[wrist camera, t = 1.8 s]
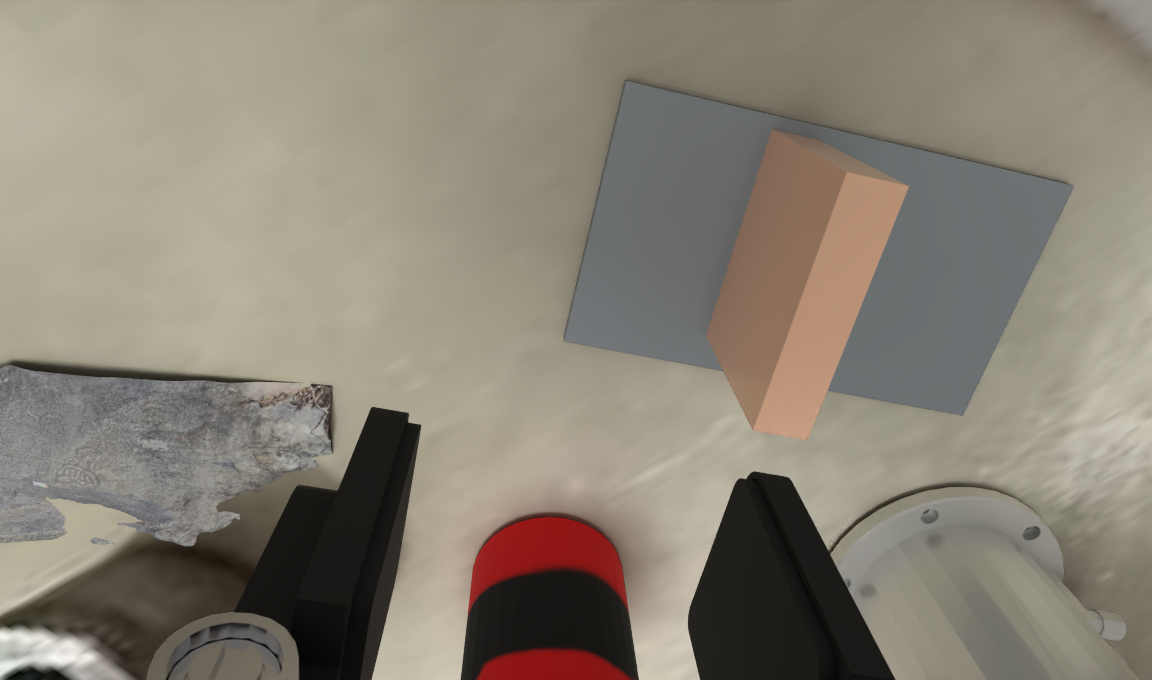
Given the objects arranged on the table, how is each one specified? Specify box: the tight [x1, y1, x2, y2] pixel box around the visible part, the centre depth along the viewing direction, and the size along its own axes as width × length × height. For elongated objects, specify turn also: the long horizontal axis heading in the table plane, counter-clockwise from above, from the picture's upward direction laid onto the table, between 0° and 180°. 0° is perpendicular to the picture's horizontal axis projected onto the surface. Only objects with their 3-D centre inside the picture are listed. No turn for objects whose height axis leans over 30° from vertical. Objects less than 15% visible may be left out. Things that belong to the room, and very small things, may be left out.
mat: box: [564, 80, 1074, 416], centre depth 33 cm, size 19×11×1 cm, turn 77°
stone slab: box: [0, 365, 333, 546], centre depth 35 cm, size 18×2×10 cm
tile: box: [706, 129, 909, 440], centre depth 28 cm, size 2×9×8 cm, turn 167°
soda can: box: [461, 517, 639, 680], centre depth 34 cm, size 8×8×12 cm
